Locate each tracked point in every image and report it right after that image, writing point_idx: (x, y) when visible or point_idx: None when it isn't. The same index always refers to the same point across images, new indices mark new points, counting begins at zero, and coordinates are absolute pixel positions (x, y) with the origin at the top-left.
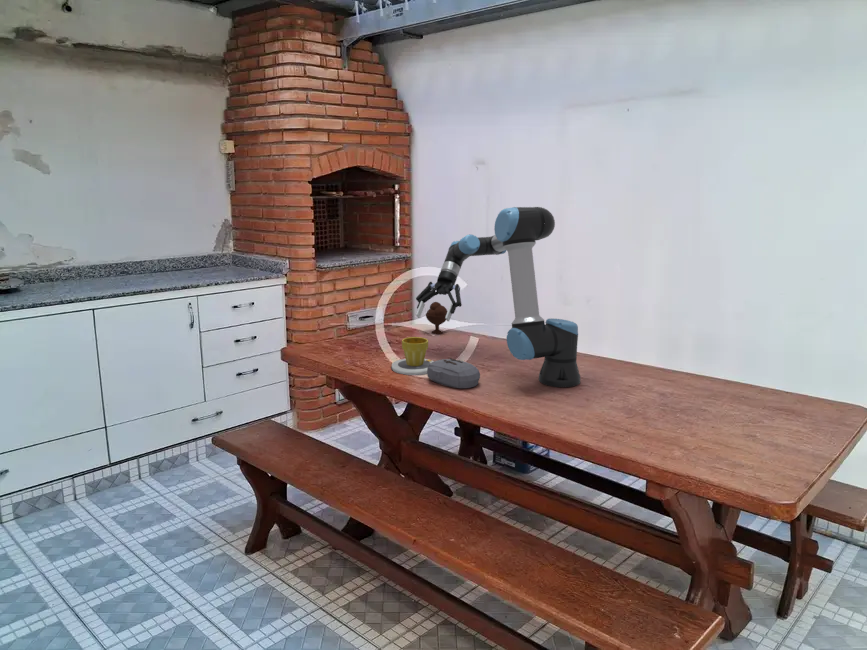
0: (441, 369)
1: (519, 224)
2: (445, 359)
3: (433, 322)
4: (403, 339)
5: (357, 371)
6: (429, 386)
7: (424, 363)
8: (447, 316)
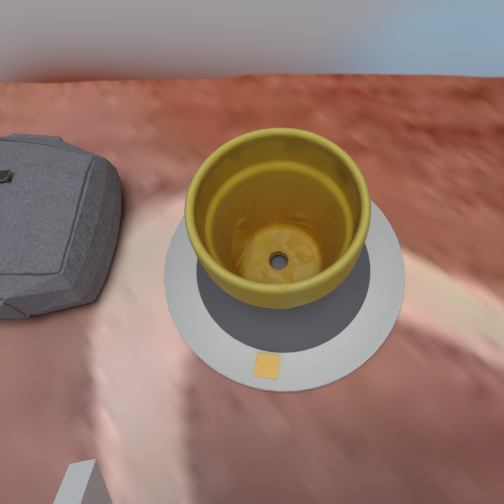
0: (5, 138)
1: None
2: (41, 232)
3: None
4: (352, 168)
5: (433, 93)
6: (77, 143)
7: (248, 305)
8: (61, 488)
